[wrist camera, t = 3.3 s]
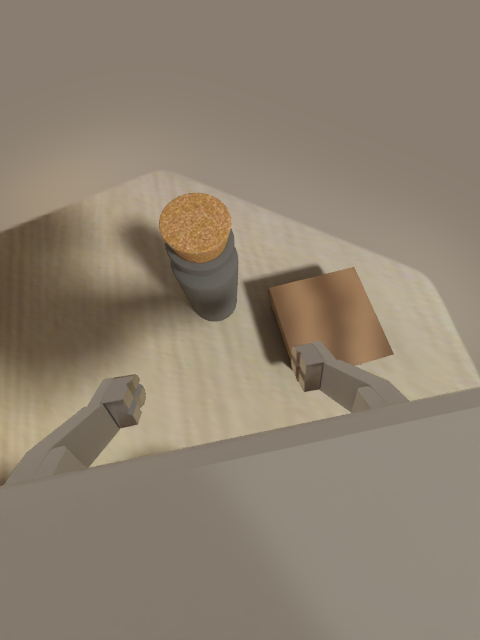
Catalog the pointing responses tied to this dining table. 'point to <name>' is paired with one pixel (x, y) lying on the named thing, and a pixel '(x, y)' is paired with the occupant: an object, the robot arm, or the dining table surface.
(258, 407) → the dining table surface
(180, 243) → the bottle
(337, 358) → the small wooden stand
